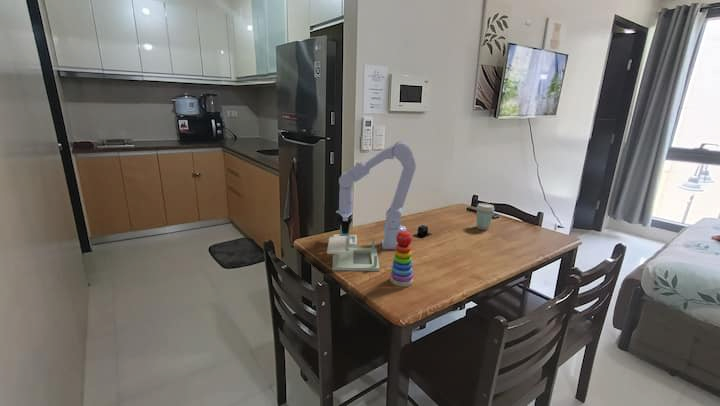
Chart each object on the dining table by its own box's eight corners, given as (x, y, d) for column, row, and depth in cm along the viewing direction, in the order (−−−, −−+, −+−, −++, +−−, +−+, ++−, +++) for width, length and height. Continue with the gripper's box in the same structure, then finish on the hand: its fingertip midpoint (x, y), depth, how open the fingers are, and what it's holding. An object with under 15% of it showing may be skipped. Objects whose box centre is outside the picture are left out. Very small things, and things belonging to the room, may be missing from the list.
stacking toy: (387, 276, 119) (390, 226, 114) (410, 276, 120) (414, 226, 115) (391, 288, 112) (395, 235, 107) (415, 287, 112) (420, 235, 107)
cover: (349, 238, 136) (349, 235, 136) (349, 254, 122) (349, 250, 122) (329, 237, 136) (329, 234, 136) (326, 253, 122) (326, 250, 121)
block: (349, 232, 148) (349, 224, 147) (349, 236, 144) (349, 227, 143) (340, 232, 148) (340, 223, 147) (339, 235, 144) (340, 227, 143)
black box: (424, 231, 166) (424, 222, 165) (436, 235, 161) (437, 226, 160) (408, 236, 158) (409, 227, 157) (421, 241, 153) (421, 231, 152)
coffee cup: (493, 227, 172) (496, 204, 169) (489, 232, 165) (492, 208, 162) (476, 223, 177) (479, 201, 173) (471, 228, 170) (474, 205, 166)
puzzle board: (376, 251, 140) (376, 238, 138) (379, 271, 122) (380, 257, 121) (334, 250, 139) (335, 237, 138) (332, 270, 122) (332, 256, 120)
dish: (356, 238, 152) (356, 234, 151) (356, 247, 142) (356, 243, 142) (334, 238, 152) (334, 234, 151) (332, 247, 142) (333, 243, 142)
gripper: (337, 196, 149) (336, 225, 152) (335, 205, 135) (335, 237, 138) (353, 196, 149) (352, 225, 153) (353, 206, 135) (352, 238, 139)
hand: (345, 231), depth 146 cm, fingers closed on block, 4 cm apart
